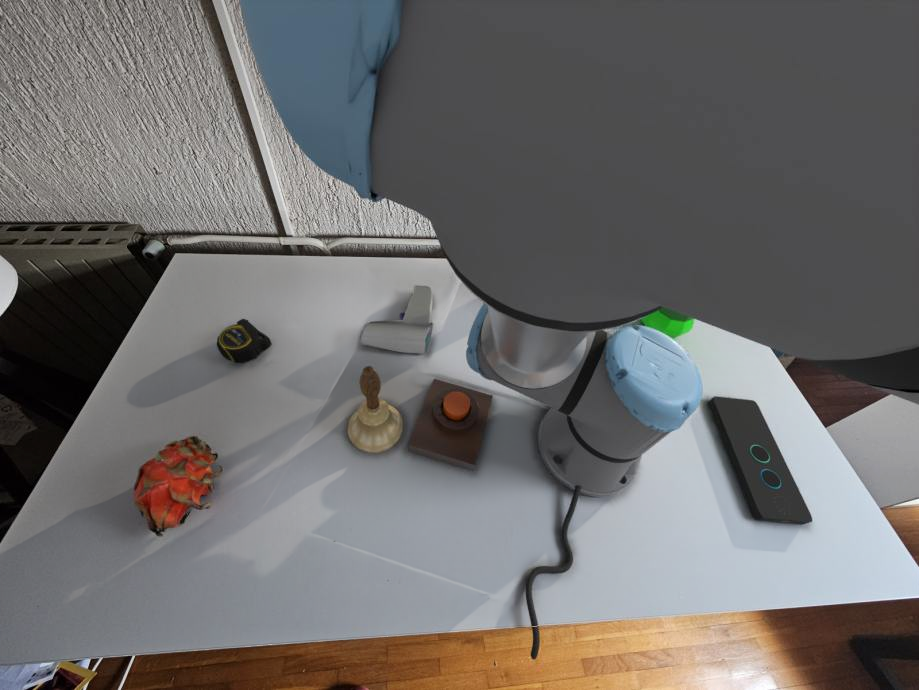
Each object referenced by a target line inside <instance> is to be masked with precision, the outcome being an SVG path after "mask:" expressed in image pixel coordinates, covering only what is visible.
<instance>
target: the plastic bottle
mask: <svg viewBox="0 0 919 690" xmlns="http://www.w3.org/2000/svg"><path fill="white" fill-rule="evenodd" d="M640 320H641V321H642V323H643V326H646V327H650V328H653V329H656V330H658V331H660V332H662V333H664V334H666V335H668V336H669V337H671V338H672V339H673V340H675V339H676V338H678V337H681V336H683V335H685V334H687V333H690V331H691V330H692V329H693V327H694V324H695V319H694V318H691V317H688V316H686V315H683V314H680V313H678V312H675V311H672V310H670V309H667V308H665V307H663V308H661V309H659V310H658V311H656V312H654V313H652V314H650V315H648V316H646V317H644V318H641V319H640Z"/></svg>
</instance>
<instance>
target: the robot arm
mask: <svg viewBox="0 0 919 690" xmlns="http://www.w3.org/2000/svg"><path fill="white" fill-rule="evenodd" d="M238 1H239V7H240V11H241V15H242V19H243V23H244V26H245V30H246V33H247V36H248V40H249V44H250V47H251V51H252V53H253V56H254V59H255V62H256V65H257V68H258V71H259V74H260V76H261V79H262V81H263V83H264V86H265V89H266V91H267V93H268V95H269V97H270V99H271V102H272V104H273V106H274V108H275V110H276V113H277V114H278V115H279V118H280V120H281V122H282V123H283V125H284V127H285V129H286V131H287V132H288V134H289V135H290V137H291V138H292V140H293V142H294V143H295V144H296V146H297V147H299V149H300V150H301V151H302V152H303V153H304V155H305V156H306V157H307V158H308V159H309V160H310V161H311V162H312V163H313V164H314V165H316V166H317V167H318V168H319V169H320V170H322V172H324V173H326V174H327V175H329V176H330V177H332V178H334V179H337V180H338V181H340V182H342V183H345V184H346V185H348V186H350V187H352V188H353V189H354V191H355V192H356V193H357V195H358V197H359V198H361V199H362V200H364V199H367V200H369V201H372V203H378V202H381V201H383V200H384V199H386V200H389V201H391V202H393V203H396V204H398V205H400V206H402V207H405V208H407V209H410V210H412V211H414V212H416V213H417V214H419V215H421V216H422V217H423V218H425V219H427V220H428V221H429V222H430V224H431V226H432V229H433V231H434V234H435V236H436V238H437V240H438V243H439V246H440V248H441V250H442V253H443V255H444V257H445V259H446V261H447V262H448V264H449V265H450V268H451V269H452V271H453V272H454V274H455V276H456V277H457V278H458V279H459V280H460V282H461V283H462V284H463V285H464V286H465V288H466V289H467V290H468V291H469V292H470V293H472V294H473V296H475V297H476V298H477V299H478V300H479V301H481V302H482V305H481V307H480V309H479V310H478V312H477V313H476V316H475V319H474V321H473V322H472V324H471V327H470V330H469V334H468V338H467V343H466V345H467V348H466V350H465V359H466V363H467V365H468V367H469V368H470V369H471V370H472V371H473V372H475V373H477V374H479V375H480V377H482V378H484V379H486V380H489V381H493V382H495V383H497V384H499V385H502V386H503V387H505V388H508V389H510V390H512V391H515V392H516V393H519V394H521V395H524V396H525V397H527V398H530V399H532V400H534V401H536V402H538V403H540V404H542V405H545V406H546V407H549V410H548V411H547V412H546V413H545V415H544V416H543V418H542V419H541V422H540V424H539V427H538V431H537V447H538V451H539V455H540V457H541V460H542V463H544V464H543V465H545V467H546V468H547V470H548V471H549V473H550V474H551V476H553V477H554V479H555V480H557V481H558V482H559V483H561V484H562V485H563V486H565V487H566V488H568V489H570V490H571V491H573V494H572V498H571V501H570V504H569V506H568V510H567V512H566V515H565V517H564V520H563V523H562V526H561V531H560V535H561V536H560V537H561V542H562V545H563V549H564V551H565V554H566V562H565V563H564V564H562V565H559V566H558V565H557V566H552V565H539V566H536V567H535V568H533V569H532V570H531V571H530V573H529V575H528V577H527V580H526V584H525V600H526V607H527V611H528V616H529V620H530V626H531V630H532V631H531V632H532V645H531V650H530V658H531V660H533V661H534V660H536V659H537V658H538V655H539V650H540V645H541V644H540V643H541V638H540V637H541V635H540V627H539V623H538V618H537V614H536V610H535V605H534V600H533V585H534V581H535V580H536V577H538V576H539V575H540V574H558V575H560V574H564V573H566V572H568V571H569V570H570V569H571V568H572V566H573V563H574V555H573V551H572V548H571V545H570V543H569V540H568V530H569V526H570V523H571V520H572V518H573V516H574V513H575V510H576V507H577V503H578V500H579V497H580V495H583V496H587V497H595V498H596V497H597V498H599V497H602V498H603V497H607V496H611V495H613V494H616V493H618V492H619V491H621V490H623V489H625V487H627V486H628V485H629V484H630V483H631V481H633V479H634V477H635V476H636V474H637V472H638V469H639V466H640V463H641V460H642V456H643V455H644V454H646V453H647V452H648V451H649V450H650V449H651V448H653V447H655V446H656V444H659V442H661V440H663V439H665V438H666V437H667V436H668V435H670V434H671V433H673V432H674V431H676V430H679V429H680V428H681V427H682V426H683V425H684V424H685V422H686V421H687V420H688V419H689V418H690V417H691V416H692V415H693V414H694V413H695V411H696V410H697V409H698V408H699V406H700V403H701V402H702V398H703V381H702V377H701V374H700V371H699V369H698V367H697V364H696V363H695V362H694V361H693V360H692V358H691V357H690V354H689V353H688V352H687V351H686V349H685V348H684V347H683V346H682V345H680V343H678V342H677V341H676V340H675V339H672V338H671V337H669V336H668V335H666V334H664V333H662V332H660V331H658V330H656V329H653V328H650V327H646V326H645V325H639V324H635V325H634V326H632V325H631V326H630V325H628V324H632V323H635V322H638V321H639V320H641V318H644V317H646V316H648V315H650V314H652V313H654V312H656V311H658V310H659V309H661V308H663V307H665V308H667V309H670V310H672V311H675V312H678V313H680V314H683V315H686V316H688V317H691V318H694V320H696V321H700V322H702V323H705V324H707V325H709V326H711V327H715V328H717V329H720V330H723V331H725V332H727V333H731V334H733V335H735V336H738V337H741V338H743V339H747V340H748V341H751V342H754V343H757V344H758V345H759V344H760V345H762V346H765V347H767V348H770V349H773V350H775V351H777V352H779V353H781V354H782V355H786V356H790V357H793V358H795V359H796V358H797V359H798V360H802V361H804V362H807V363H809V364H812V365H814V366H816V367H820V368H822V369H825V370H827V371H830V372H831V373H835V374H837V375H840V376H843V377H845V378H847V379H849V380H852V381H854V382H856V383H857V382H858V383H860V384H862V385H864V386H865V385H866V386H868V387H871V388H873V389H876V390H879V391H882V392H884V393H887V394H890V395H892V396H894V397H898V398H899V399H903V400H904V401H905V400H906V401H908V402H910V403H914V404H916V405H918V406H919V0H238ZM622 326H624V327H622ZM619 327H621V328H619ZM616 328H619V329H618V330H616V331H615V332H613V333H612V332H611V333H610V332H608V331H606V330H611V329H612V330H613V329H616ZM537 625H538V626H537ZM532 626H537V627H532Z"/></svg>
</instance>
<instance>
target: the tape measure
mask: <svg viewBox="0 0 919 690" xmlns="http://www.w3.org/2000/svg"><path fill="white" fill-rule="evenodd" d="M271 346H272V340H271V338H270V337H269V336H268V335H266V334H265V333H263V332H262V331H260V330H258V328H256V326H254V324H252V323H251V322H250V321H249V319H246V318H241V319H239V320H238V321H237V322H236V324H232V325H230V326H227V327H225V328H224V329H223V330H222V331H221V332H220V333H219V335H218V336H217V339H216V347H217V350H218V351H219V353H220V355H221V356H222V358H224V359H225V360H227V361H229V362H233V363H235V364H238V363H239V364H244V363H249V362H251V361H254V360H255V359H257V358H258V357H259V356H261V355H262V353H263V352H265V351H266V350H268V349H270V347H271Z"/></svg>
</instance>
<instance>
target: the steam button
mask: <svg viewBox="0 0 919 690" xmlns="http://www.w3.org/2000/svg"><path fill="white" fill-rule="evenodd" d="M469 409H470V400H469V398H468V397H467V396H466V395H465V394H464V393H461V392H451V393H449V394H448V395H446V397H445V398H444V402H443V412H444V414H445V416H446V417H447V418H449V419H451V420H454V421H459V420H462V419H464V418H465V417H466V416H467V415H468V413H469Z"/></svg>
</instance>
